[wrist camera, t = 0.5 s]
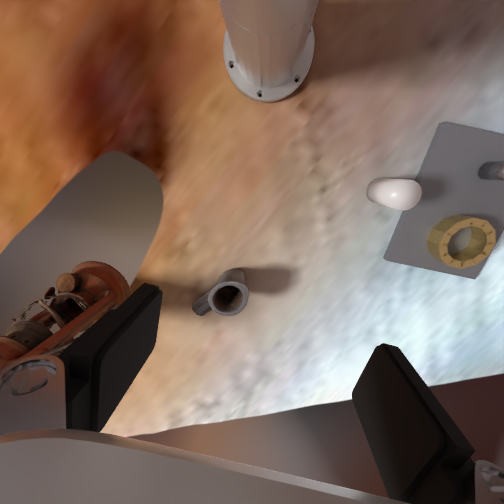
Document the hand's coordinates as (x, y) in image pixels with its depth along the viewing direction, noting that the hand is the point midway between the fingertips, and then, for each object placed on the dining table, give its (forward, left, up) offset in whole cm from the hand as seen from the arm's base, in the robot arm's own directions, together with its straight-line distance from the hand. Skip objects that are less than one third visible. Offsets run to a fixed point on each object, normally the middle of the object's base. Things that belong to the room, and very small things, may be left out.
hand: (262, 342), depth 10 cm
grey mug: (+16, -5, -34) cm, 37 cm away
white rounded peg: (-7, +17, -33) cm, 38 cm away
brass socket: (-2, +31, -32) cm, 45 cm away
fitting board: (-7, +30, -33) cm, 46 cm away
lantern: (+23, -30, -33) cm, 50 cm away
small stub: (-13, +31, -32) cm, 47 cm away
